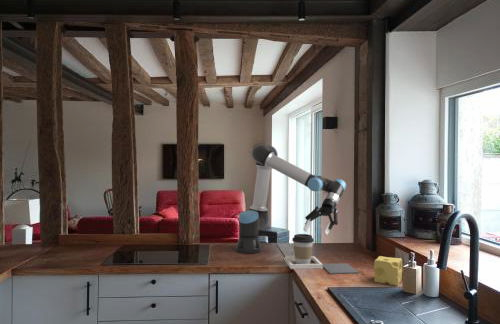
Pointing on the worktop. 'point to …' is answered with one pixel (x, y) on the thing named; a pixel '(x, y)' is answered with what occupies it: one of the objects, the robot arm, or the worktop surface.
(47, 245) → the worktop surface
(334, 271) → the rubber mat
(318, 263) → the holder frame
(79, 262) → the worktop surface
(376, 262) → the cheese
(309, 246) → the coffee cup
